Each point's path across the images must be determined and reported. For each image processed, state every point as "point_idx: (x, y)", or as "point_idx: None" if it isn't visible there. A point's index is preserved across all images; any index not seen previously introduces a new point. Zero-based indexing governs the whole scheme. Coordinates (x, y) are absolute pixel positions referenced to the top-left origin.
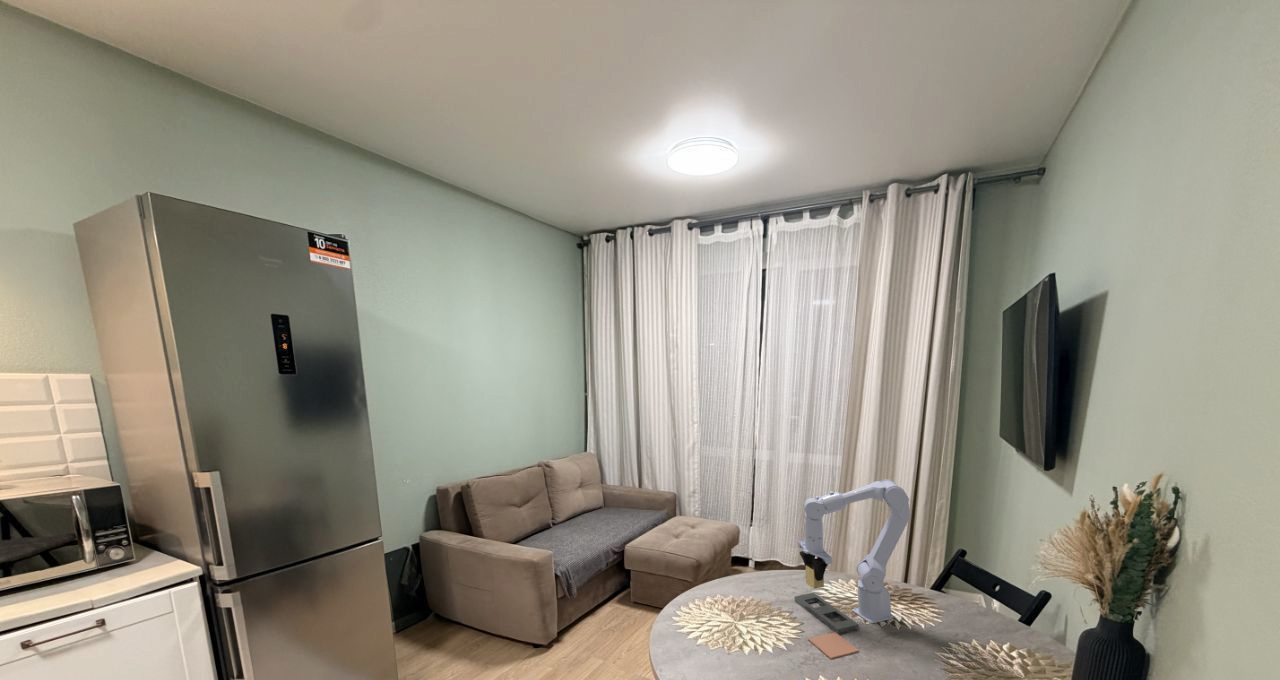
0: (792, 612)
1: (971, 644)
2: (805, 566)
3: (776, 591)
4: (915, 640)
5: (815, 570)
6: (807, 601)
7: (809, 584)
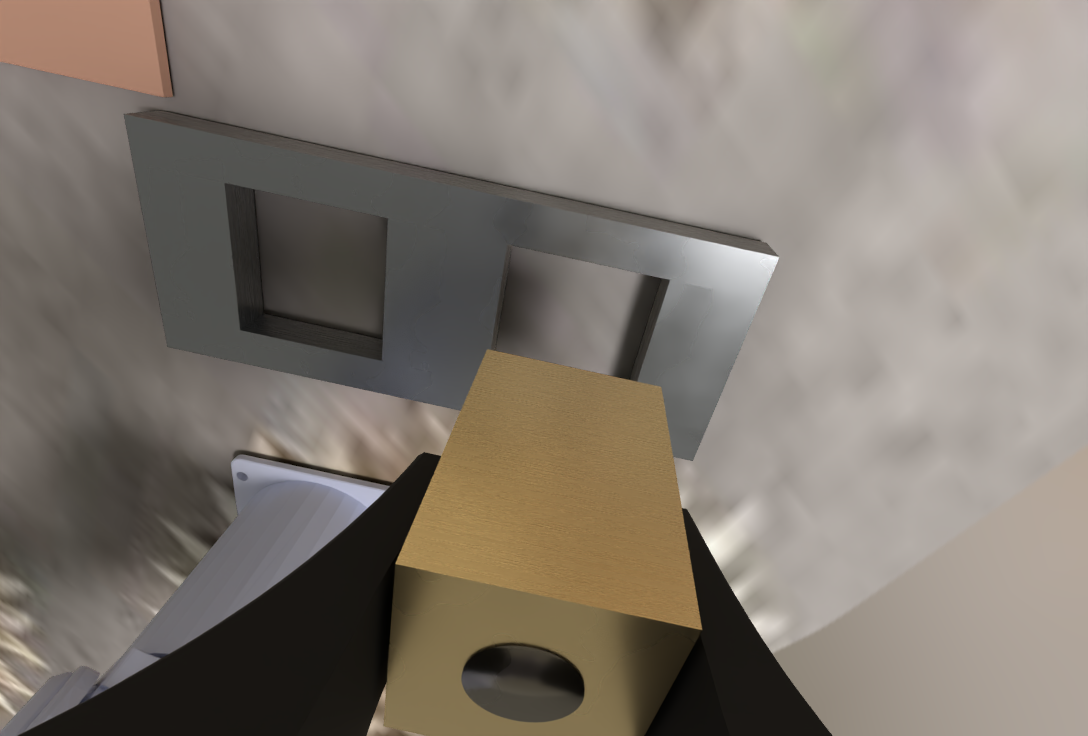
0: (648, 24)
1: (6, 631)
2: (728, 608)
3: (1031, 241)
4: (49, 494)
5: (362, 576)
6: (653, 315)
7: (585, 379)
